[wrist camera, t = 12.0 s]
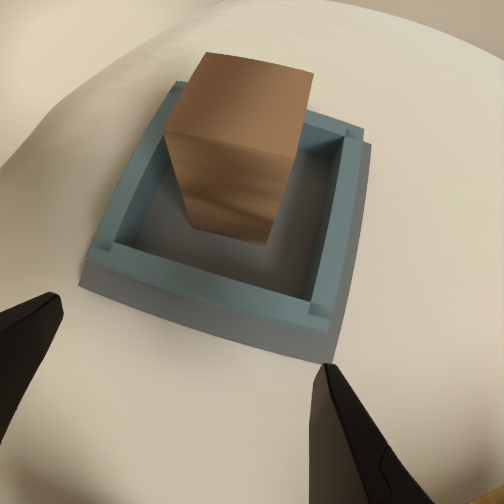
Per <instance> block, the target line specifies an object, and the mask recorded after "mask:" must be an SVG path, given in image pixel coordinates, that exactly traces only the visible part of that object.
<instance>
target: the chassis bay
mask: <svg viewBox="0 0 504 504" xmlns="http://www.w3.org/2000/svg"><path fill="white" fill-rule="evenodd" d="M187 83H188V82H181V81H176V82H175V84H174V85H173V87H172V89H171V90H170V92H169V93H168V95H167V96H166V98H165V100H164V101H163V103H162V104H161V106H160V108H159V109H158V111H157V113H156V114H155V116H154V118H153V120H152V121H151V123H150V125H149V126H148V128H147V130H146V132H145V133H144V135H143V137H142V139H141V141H140V142H139V144H138V146H137V148H136V150H135V152H134V154H133V156H132V157H131V159H130V161H129V163H128V165H127V167H126V169H125V171H124V173H123V175H122V177H121V179H120V181H119V183H118V185H117V187H116V189H115V192H114V194H113V196H112V198H111V200H110V202H109V205H108V207H107V209H106V211H105V213H104V216H103V218H102V220H101V223H100V225H99V227H98V230H97V232H96V235H95V237H94V239H93V242H92V244H91V247H90V250H89V252H88V255H87V257H88V259H87V262H86V264H85V267H84V270H83V273H82V275H81V278H80V281H79V284H78V286H80V287H82V288H85V289H87V290H90V291H92V292H94V293H97V294H99V295H102V296H104V297H107V298H109V299H112V300H114V301H117V302H120V303H122V304H125V305H127V306H130V307H133V308H135V309H138V310H141V311H143V312H146V313H149V314H152V315H154V316H157V317H160V318H163V319H166V320H169V321H172V322H174V323H177V324H180V325H183V326H186V327H189V328H192V329H195V330H199V331H202V332H205V333H208V334H211V335H214V336H218V337H221V338H224V339H227V340H231V341H234V342H238V343H241V344H244V345H248V346H251V347H255V348H259V349H262V350H266V351H270V352H273V353H277V354H281V355H285V356H289V357H293V358H297V359H301V360H305V361H309V362H313V363H317V364H323V363H331V364H332V361H333V357H334V353H335V350H336V346H337V342H338V338H339V334H340V330H341V325H342V321H343V317H344V313H345V308H346V304H347V299H348V295H349V290H350V285H351V280H352V275H353V270H354V265H355V259H356V254H357V248H358V243H359V237H360V231H361V225H362V218H363V212H364V205H365V197H366V190H367V182H368V174H369V165H370V156H371V146H372V144H369V143H366V142H364V141H363V135H364V129H363V128H360V127H358V126H355V125H352V124H349V123H346V122H343V121H341V120H338V119H335V118H332V117H329V116H326V115H322V114H319V113H316V112H313V111H310V110H306V112H305V117H304V121H303V126H302V130H301V135H300V139H299V144H298V148H297V153H296V157H295V161H294V164H293V167H292V170H291V173H290V176H289V179H288V181H287V184H286V187H285V190H284V193H283V196H282V199H281V202H280V205H279V208H278V211H277V214H276V217H275V220H274V223H273V226H272V229H271V231H270V234H269V237H268V240H267V243H266V246H265V247H264V246H260V245H256V244H252V243H249V242H245V241H241V240H237V239H233V238H229V237H225V236H222V235H218V234H214V233H210V232H206V231H202V230H198V229H194V228H192V225H191V222H190V219H189V216H188V213H187V210H186V206H185V203H184V200H183V197H182V194H181V191H180V187H179V184H178V181H177V178H176V174H175V171H174V168H173V164H172V161H171V158H170V154H169V151H168V148H167V144H166V141H165V137H164V134H163V128H164V126H165V124H166V122H167V120H168V118H169V116H170V114H171V112H172V110H173V109H174V107H175V105H176V103H177V101H178V99H179V98H180V96H181V94H182V92H183V90H184V89H185V87H186V85H187Z"/></svg>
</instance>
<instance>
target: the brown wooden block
mask: <svg viewBox="0 0 504 504" xmlns="http://www.w3.org/2000/svg"><path fill="white" fill-rule="evenodd" d="M313 75H314V73H310V72H307V71H303V70H299V69H295V68H291V67H287V66H282V65H278V64H273V63H269V62H264V61H259V60H254V59H248V58H242V57H237V56H230V55H224V54H217V53H209V52H206V53H205V55H204V56H203V58H202V60H201V61H200V63H199V65H198V66H197V68H196V70H195V71H194V73H193V75H192V76H191V78H190V80H189V82H188V83H187V85H186V87H185V89H184V90H183V92H182V94H181V96H180V98H179V99H178V101H177V103H176V105H175V107H174V109H173V110H172V112H171V114H170V116H169V118H168V120H167V122H166V124H165V126H164V128H163V134H164V137H165V141H166V144H167V148H168V151H169V154H170V158H171V161H172V164H173V168H174V171H175V174H176V178H177V181H178V184H179V187H180V191H181V194H182V197H183V200H184V203H185V206H186V210H187V213H188V216H189V219H190V222H191V225H192V228H194V229H198V230H202V231H206V232H210V233H214V234H218V235H222V236H225V237H229V238H233V239H237V240H241V241H245V242H249V243H252V244H256V245H260V246H264V247H265V246H266V243H267V240H268V237H269V234H270V231H271V229H272V226H273V223H274V220H275V217H276V214H277V211H278V208H279V205H280V202H281V199H282V196H283V193H284V190H285V187H286V184H287V181H288V179H289V176H290V173H291V170H292V167H293V164H294V161H295V157H296V153H297V148H298V144H299V139H300V135H301V130H302V126H303V121H304V117H305V112H306V108H307V103H308V98H309V94H310V89H311V84H312V79H313Z"/></svg>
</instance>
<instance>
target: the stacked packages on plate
mask: <svg viewBox="0 0 504 504" xmlns="http://www.w3.org/2000/svg"><path fill="white" fill-rule="evenodd" d="M468 504H504V486H503V487H500V488H499V489H497V490H495V491H492V492H490V493H488V495H485V496H483V497H481V498H479V499H477V500H474V501H473V502H470V503H468Z"/></svg>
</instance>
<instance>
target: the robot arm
mask: <svg viewBox="0 0 504 504" xmlns="http://www.w3.org/2000/svg"><path fill="white" fill-rule="evenodd" d="M63 315H64V312H63V307H62V303H61V298H60V296H59V295H58V294H56V293H53V292H47V293H45V294H42V295H40V296H38V297H35V298H33V299H30V300H28V301H26V302H23V303H21V304H19V305H16V306H14V307H12V308H10V309H7V310H5V311H3V312H0V444H1V442H2V441H1V440H2V439H3V437H4V435H5V433H6V430H7V428H8V426H9V424H10V422H11V420H12V418H13V415H14V413H15V411H16V409H17V407H18V405H19V403H20V401H21V399H22V397H23V395H24V393H25V392H26V390H27V388H28V386H29V384H30V382H31V380H32V378H33V377H34V375H35V373H36V371H37V369H38V367H39V366H40V364H41V362H42V360H43V359H44V357H45V355H46V353H47V351H48V349H49V347H50V345H51V343H52V340H53V338H54V336H55V334H56V332H57V330H58V328H59V326H60V323H61V321H62V319H63ZM309 504H435V503H434V502H433V501H432V500H431V499H430V498H429V496H428V495H427V494H426V493H425V492H424V491H423V489H422V488H421V487H420V486H419V485H418V483H417V482H416V481H415V480H414V479H413V477H412V476H411V475H410V474H409V472H408V471H407V470H406V468H405V467H404V466H403V465H402V463H401V462H400V460H399V459H398V457H397V456H396V455H395V453H394V452H393V450H392V449H391V447H390V445H388V443H387V441H386V439H385V438H384V436H383V435H382V433H381V432H380V430H379V429H378V427H377V426H376V424H375V423H374V421H373V420H372V418H371V417H370V415H369V414H368V412H367V410H366V409H365V407H364V406H363V404H362V403H361V401H360V400H359V398H358V397H357V395H356V394H355V392H354V391H353V389H352V388H351V386H350V385H349V383H348V382H347V380H346V379H345V377H344V376H343V374H342V373H341V371H340V370H339V368H338V367H337V365H335V364H331V363H323V364H322V366H321V367H320V369H319V371H318V373H317V375H316V377H315V379H314V382H313V391H312V401H311V411H310V421H309Z"/></svg>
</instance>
